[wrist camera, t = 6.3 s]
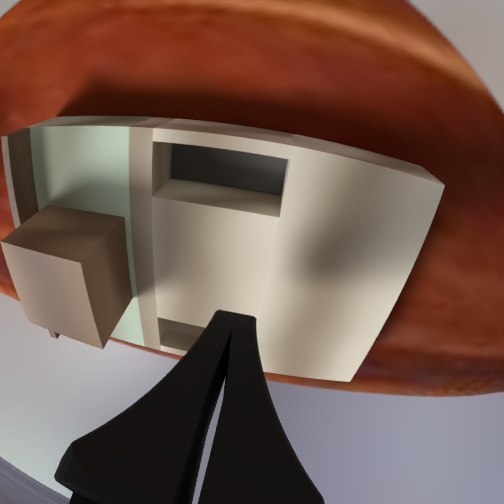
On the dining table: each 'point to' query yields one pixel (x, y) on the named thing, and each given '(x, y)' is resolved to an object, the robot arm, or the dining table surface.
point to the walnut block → (71, 271)
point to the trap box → (237, 229)
